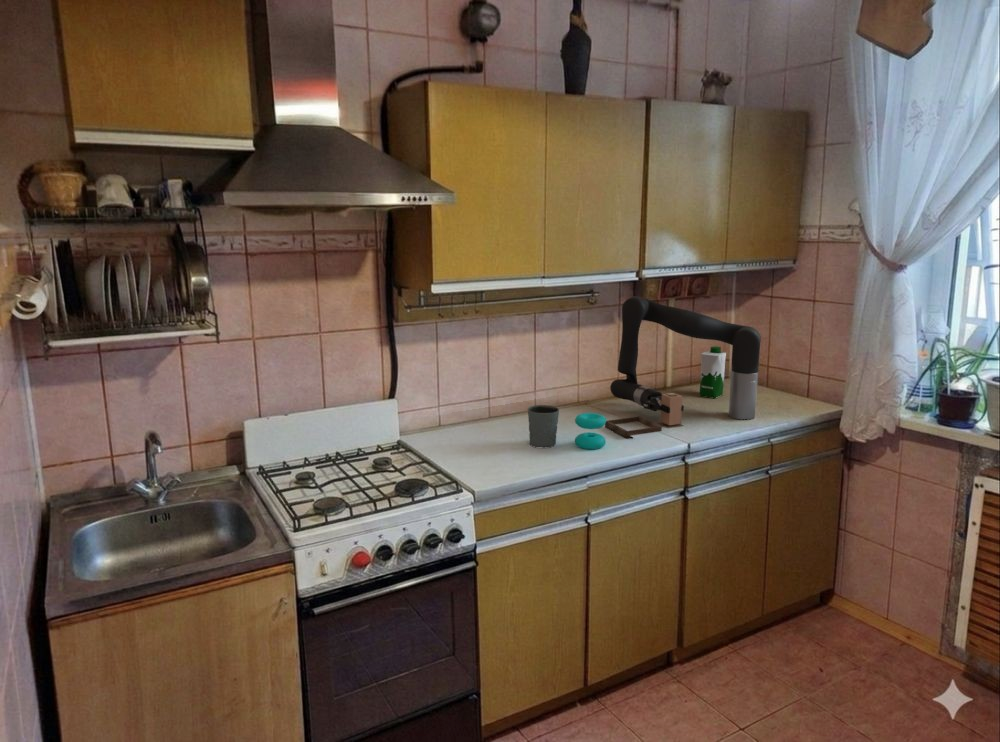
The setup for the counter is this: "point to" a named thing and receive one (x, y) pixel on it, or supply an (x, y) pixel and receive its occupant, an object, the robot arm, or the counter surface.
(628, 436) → the tray
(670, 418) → the sleeve
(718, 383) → the milk carton
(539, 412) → the grey tapered cup
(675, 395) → the post
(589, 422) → the donuts
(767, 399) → the counter surface
